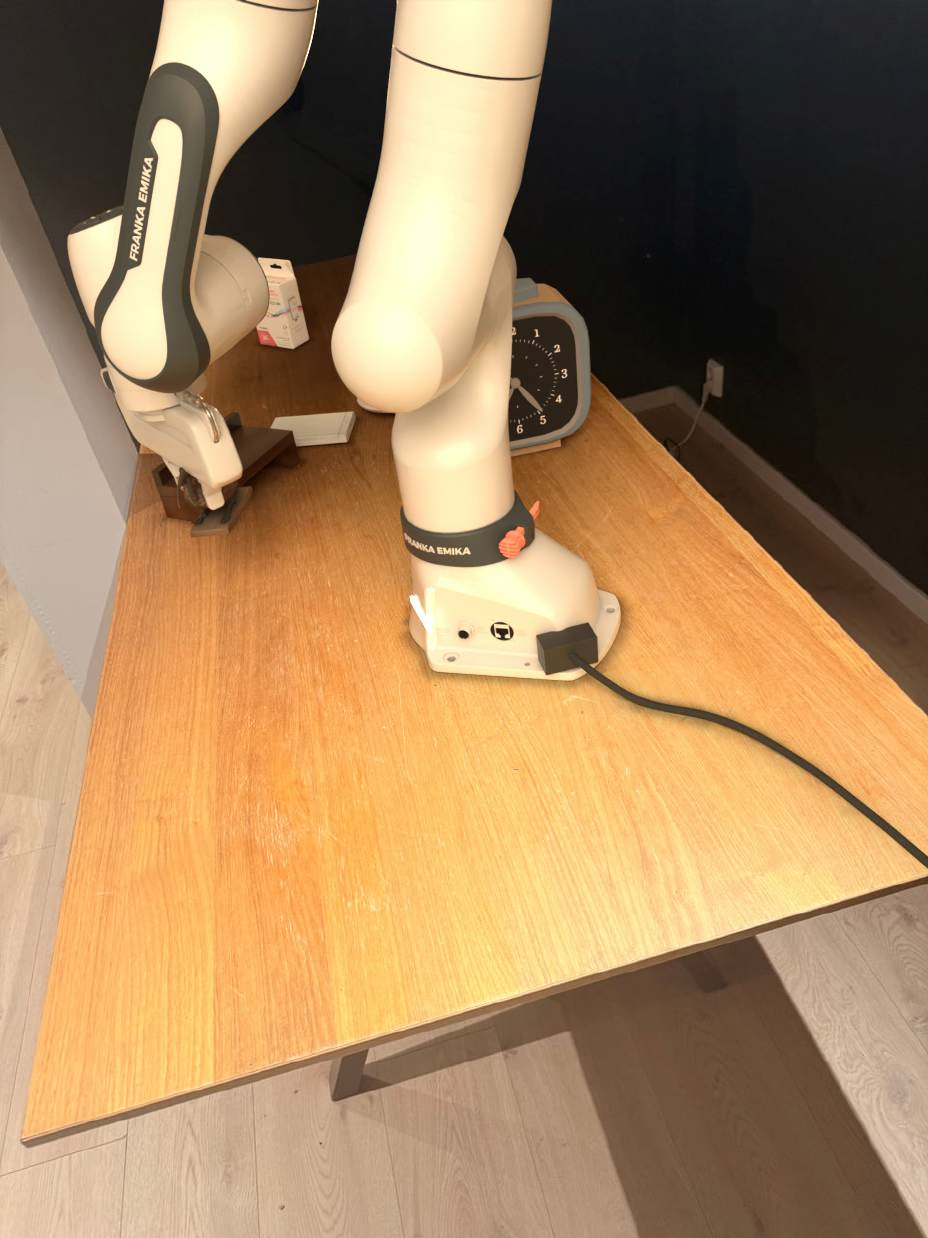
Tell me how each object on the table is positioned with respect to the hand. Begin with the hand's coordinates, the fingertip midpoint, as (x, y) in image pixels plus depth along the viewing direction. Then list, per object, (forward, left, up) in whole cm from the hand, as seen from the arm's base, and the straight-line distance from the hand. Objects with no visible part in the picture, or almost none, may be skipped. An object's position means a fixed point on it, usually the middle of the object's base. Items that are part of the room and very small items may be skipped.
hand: (201, 497), depth 105 cm
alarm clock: (-19, -42, -13) cm, 47 cm away
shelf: (+15, -21, -13) cm, 28 cm away
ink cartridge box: (+40, -71, -13) cm, 82 cm away
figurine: (-1, 0, -4) cm, 4 cm away
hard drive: (+13, -38, -13) cm, 42 cm away
